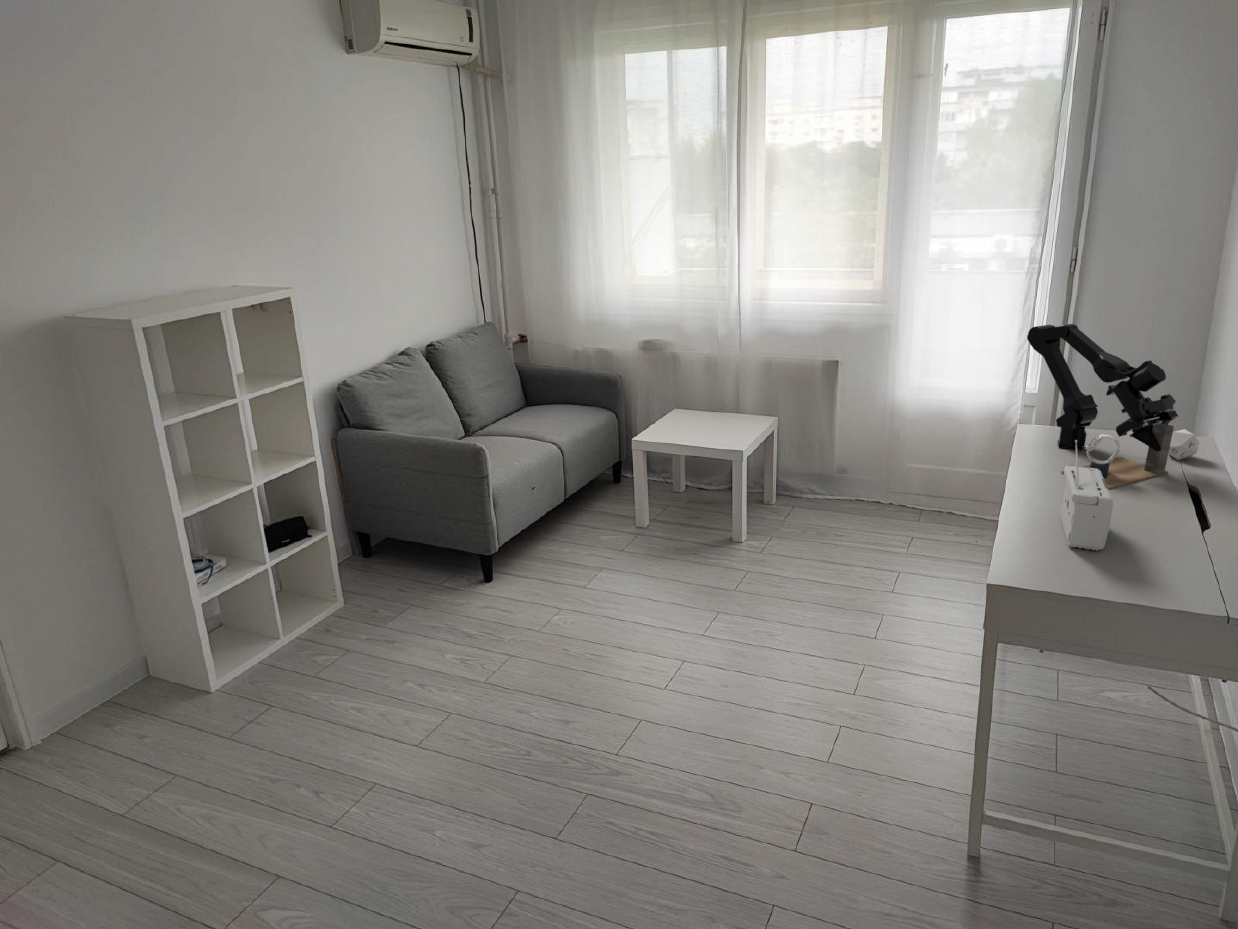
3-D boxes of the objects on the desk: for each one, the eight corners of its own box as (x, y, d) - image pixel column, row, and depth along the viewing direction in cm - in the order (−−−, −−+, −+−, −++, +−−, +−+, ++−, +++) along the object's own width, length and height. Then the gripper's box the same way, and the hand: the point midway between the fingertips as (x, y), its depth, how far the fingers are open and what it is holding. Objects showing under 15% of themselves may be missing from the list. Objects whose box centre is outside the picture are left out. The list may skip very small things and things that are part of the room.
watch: (1082, 468, 246) (1089, 430, 243) (1115, 473, 243) (1122, 434, 239) (1080, 474, 242) (1087, 435, 238) (1114, 479, 238) (1121, 440, 234)
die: (1157, 460, 255) (1183, 440, 247) (1154, 438, 260) (1178, 418, 253) (1183, 470, 255) (1209, 450, 248) (1179, 448, 261) (1204, 428, 253)
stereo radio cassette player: (1105, 554, 197) (1121, 469, 190) (1064, 549, 199) (1078, 465, 193) (1093, 518, 215) (1107, 440, 208) (1055, 514, 218) (1068, 437, 211)
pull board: (1061, 473, 245) (1068, 426, 240) (1120, 458, 255) (1128, 412, 251) (1107, 489, 233) (1116, 440, 228) (1168, 473, 243) (1177, 425, 239)
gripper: (1134, 389, 235) (1166, 441, 230) (1178, 380, 243) (1210, 429, 237) (1101, 411, 244) (1132, 460, 239) (1145, 401, 252) (1175, 449, 247)
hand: (1163, 449), depth 240 cm, fingers closed on pull board, 3 cm apart
